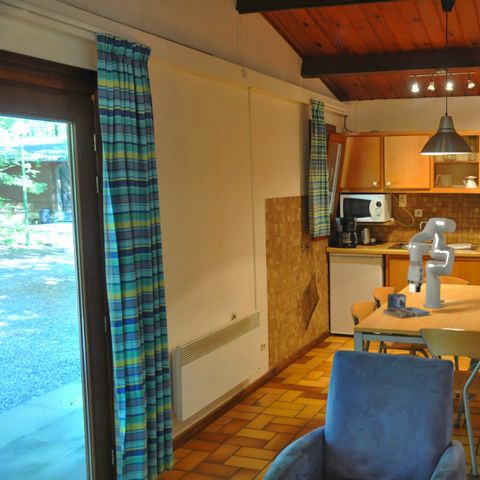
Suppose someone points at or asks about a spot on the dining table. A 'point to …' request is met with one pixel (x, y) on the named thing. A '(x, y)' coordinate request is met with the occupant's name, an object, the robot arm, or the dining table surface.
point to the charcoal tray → (417, 311)
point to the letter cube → (413, 287)
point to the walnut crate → (398, 313)
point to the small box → (396, 301)
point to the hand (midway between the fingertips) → (414, 291)
